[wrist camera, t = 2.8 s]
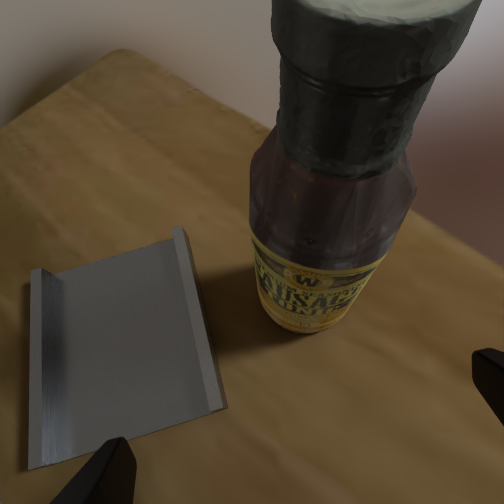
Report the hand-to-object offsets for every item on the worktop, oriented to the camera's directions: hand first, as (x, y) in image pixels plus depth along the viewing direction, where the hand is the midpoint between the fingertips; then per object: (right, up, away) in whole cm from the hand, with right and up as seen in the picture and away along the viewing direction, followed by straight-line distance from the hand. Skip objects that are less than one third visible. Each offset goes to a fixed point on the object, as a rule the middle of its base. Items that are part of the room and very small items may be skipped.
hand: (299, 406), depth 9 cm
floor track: (-10, -2, +16) cm, 19 cm away
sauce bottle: (+3, +1, +16) cm, 16 cm away
